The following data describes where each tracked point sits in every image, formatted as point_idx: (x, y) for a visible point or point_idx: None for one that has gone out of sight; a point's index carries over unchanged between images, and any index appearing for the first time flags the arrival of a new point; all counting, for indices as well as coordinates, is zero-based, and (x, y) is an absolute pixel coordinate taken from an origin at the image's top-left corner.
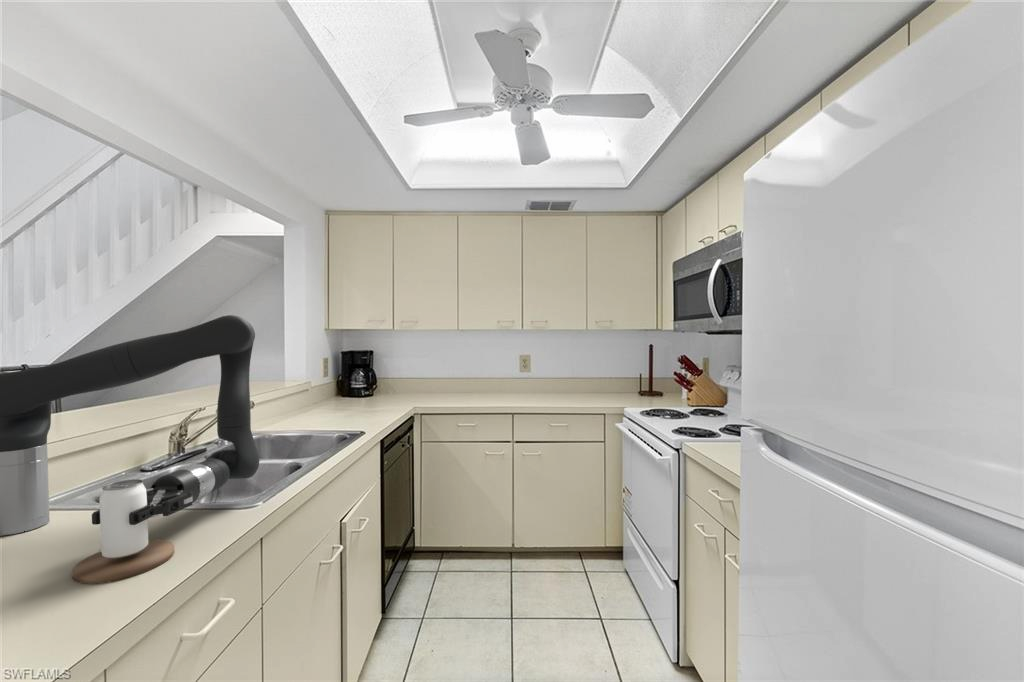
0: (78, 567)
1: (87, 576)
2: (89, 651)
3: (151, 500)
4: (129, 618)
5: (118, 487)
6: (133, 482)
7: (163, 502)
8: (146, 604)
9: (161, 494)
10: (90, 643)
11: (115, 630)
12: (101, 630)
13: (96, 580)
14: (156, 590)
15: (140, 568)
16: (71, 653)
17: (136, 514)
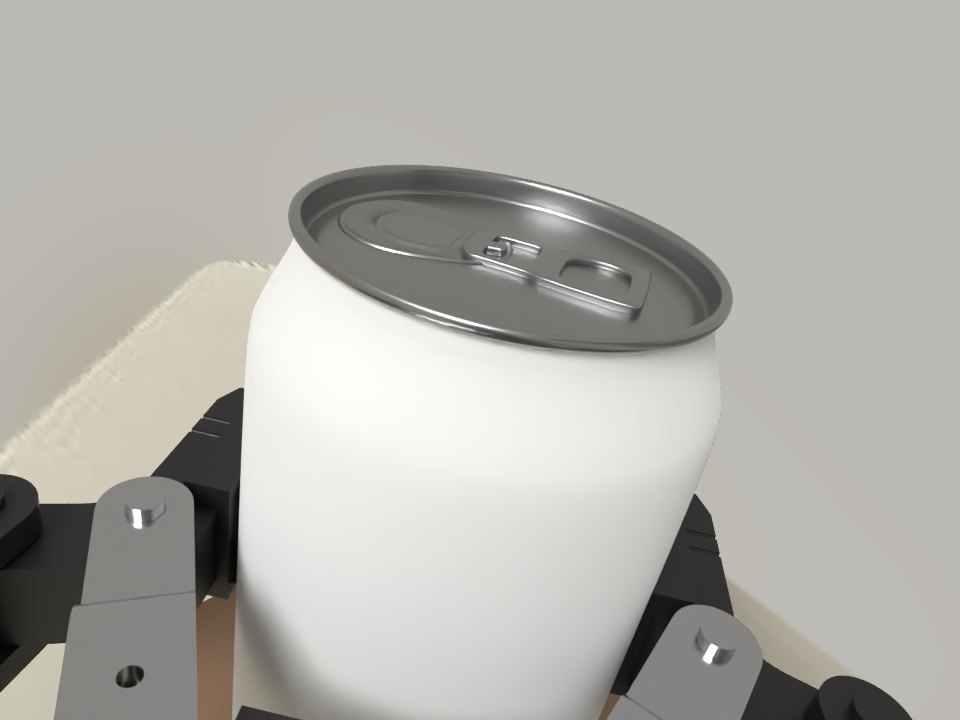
0: (609, 701)
1: None
2: (190, 281)
3: (253, 715)
4: (131, 348)
5: (530, 244)
6: (474, 314)
7: (22, 495)
8: (91, 392)
9: (83, 700)
10: (202, 299)
11: (155, 318)
12: (197, 328)
13: None
14: (69, 462)
15: (200, 606)
16: (231, 286)
17: None
